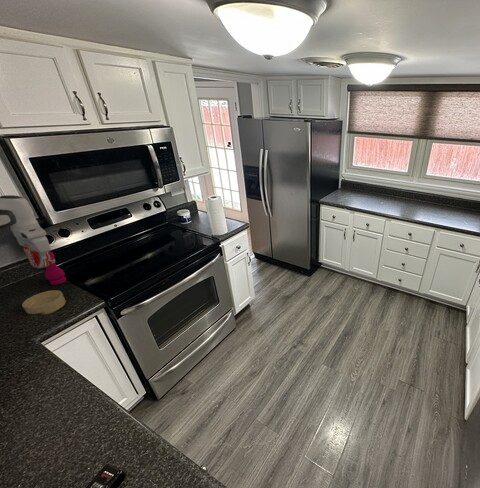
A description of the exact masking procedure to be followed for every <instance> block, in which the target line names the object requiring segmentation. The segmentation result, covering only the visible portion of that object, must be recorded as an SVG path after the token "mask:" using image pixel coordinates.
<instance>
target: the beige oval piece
mask: <svg viewBox="0 0 480 488" xmlns="http://www.w3.org/2000/svg"><path fill="white" fill-rule="evenodd" d="M66 303H67V300H66V297H65V295H64V293H63V292H62V291H61V290H57V289H55V290H46V291H43V292H39V293H36V294H34V295H32V296H30V297H28V298H27V299H25V300H24V301H23V302H22V303H21V306H22V308H23V310H24V312H25V313H26V314H29V315H36V314H43V315H45V316H46V315H49V314H52V313H54V312H57V311H58V310H60V309H62V308H63V307H64V306H65V305H66Z"/></svg>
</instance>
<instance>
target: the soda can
mask: <svg viewBox="0 0 480 488" xmlns="http://www.w3.org/2000/svg"><path fill="white" fill-rule="evenodd" d="M23 251H24V253H25V256H26V258H27V260H28V262H29V264H30V265H31V267H32V268H34V269H43V268H44V269H45V268H46V267H47V266H49V265H50V264H51V263H52V261H51V258H50V256H49V253H48V252H46V257H47V258H46V259H44V260H42V259H40V257H39V256H40V254H39V253H38V252H36V251H34V250H33V249H32V248H31V246H28V245H26V244H24V247H23Z"/></svg>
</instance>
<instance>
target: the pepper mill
mask: <svg viewBox="0 0 480 488" xmlns="http://www.w3.org/2000/svg"><path fill="white" fill-rule="evenodd" d="M48 253H49V256H50V258H51V261H52V263H51V264H50V265H49V266H47V267H45V279H47V280H48V281H49V284H50V285H52V286H55V285H60V284H62V283H64V282H66V281H67V277H66V276H65V271H64V270H63V269H61V268H60V266H58V265H57V264H56V259H55V254H54V252H52V251H51V250H50V251H49V252H48Z"/></svg>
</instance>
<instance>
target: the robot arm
mask: <svg viewBox="0 0 480 488" xmlns="http://www.w3.org/2000/svg"><path fill="white" fill-rule="evenodd" d="M6 228H10V231H11V233H12V235H13V236H14V237H15V238H16V241H17V243H18V244H19V246H21V247H23V248H24V244H26V245H28V246H31V248H32V249H33V250H34V251H36V252H38V253H39V254H40V256H39V257H40V259H42V260H44V259H46V258H47V257H46V252H49V251H50V252H51V245H50V242H49V240H48V238H47V232H46V230H45V229H43V228H42V227H41V225H40V224H39V222H38V220H37V219H36V218H35V212H34V211H33V208H32V207H31V204H30V203H29V201H28V200H27V199H26V198H24V197H22V196H20V195H14V194H13V195H12V194H11V195H9V194H8V195H0V230H3V229H6Z"/></svg>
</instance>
